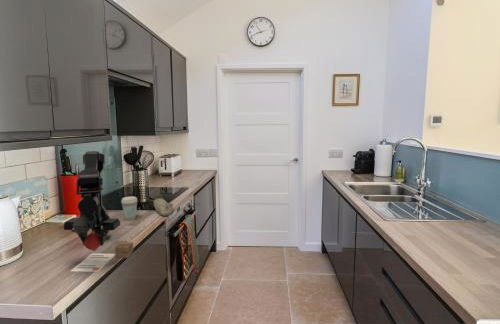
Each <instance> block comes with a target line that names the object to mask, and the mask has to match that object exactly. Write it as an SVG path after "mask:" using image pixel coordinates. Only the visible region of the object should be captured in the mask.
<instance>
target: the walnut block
mask: <svg viewBox="0 0 500 324" xmlns="http://www.w3.org/2000/svg"><path fill="white" fill-rule="evenodd" d="M114 252H115V253H114V254H116V255H115V259H129V258H130V257H131V256H132V255H133V254H134V242H133V241H121V242H119V243H117V245H116V246H115V251H114Z"/></svg>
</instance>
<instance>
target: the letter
mask: <svg viewBox="0 0 500 324" xmlns="http://www.w3.org/2000/svg"><path fill="white" fill-rule="evenodd" d="M114 257H116V253H91V254H89V255H88V256H87V257H86V258H85V259H83V260H82V261H81V262H80V263H79V264H77V265H75V267H73V268H72V269H71V270H70V272H83V273H85V272H91V273H92V272H94V273H96V272H99V271H100V270H101V269H102V268H104V267H105V266H106V265H107V264H108V262H110V261H111V260H112V259H113V258H114Z"/></svg>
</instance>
